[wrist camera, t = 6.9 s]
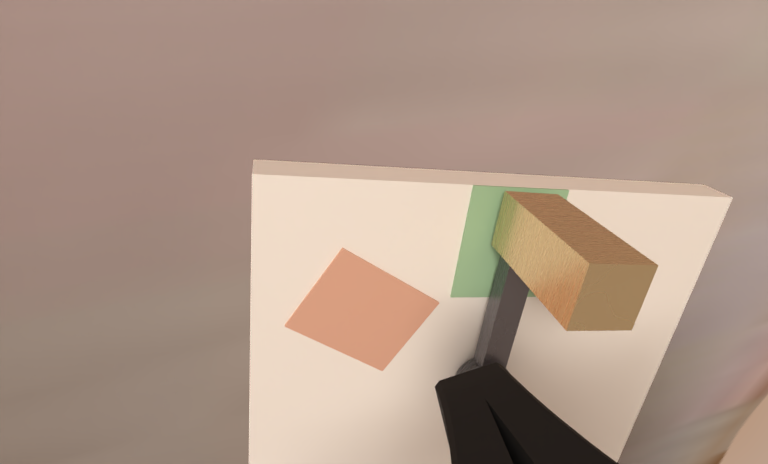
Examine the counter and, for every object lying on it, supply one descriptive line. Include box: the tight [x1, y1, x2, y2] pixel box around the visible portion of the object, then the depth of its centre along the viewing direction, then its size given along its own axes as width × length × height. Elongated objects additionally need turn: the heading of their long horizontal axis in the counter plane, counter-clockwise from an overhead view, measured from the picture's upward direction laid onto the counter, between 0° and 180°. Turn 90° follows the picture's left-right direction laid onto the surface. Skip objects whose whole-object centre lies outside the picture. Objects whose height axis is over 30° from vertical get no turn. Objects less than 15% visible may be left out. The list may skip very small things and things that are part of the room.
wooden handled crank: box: [456, 191, 658, 375], centre depth 16 cm, size 9×2×5 cm, turn 172°
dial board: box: [249, 159, 733, 464], centre depth 21 cm, size 16×18×2 cm
